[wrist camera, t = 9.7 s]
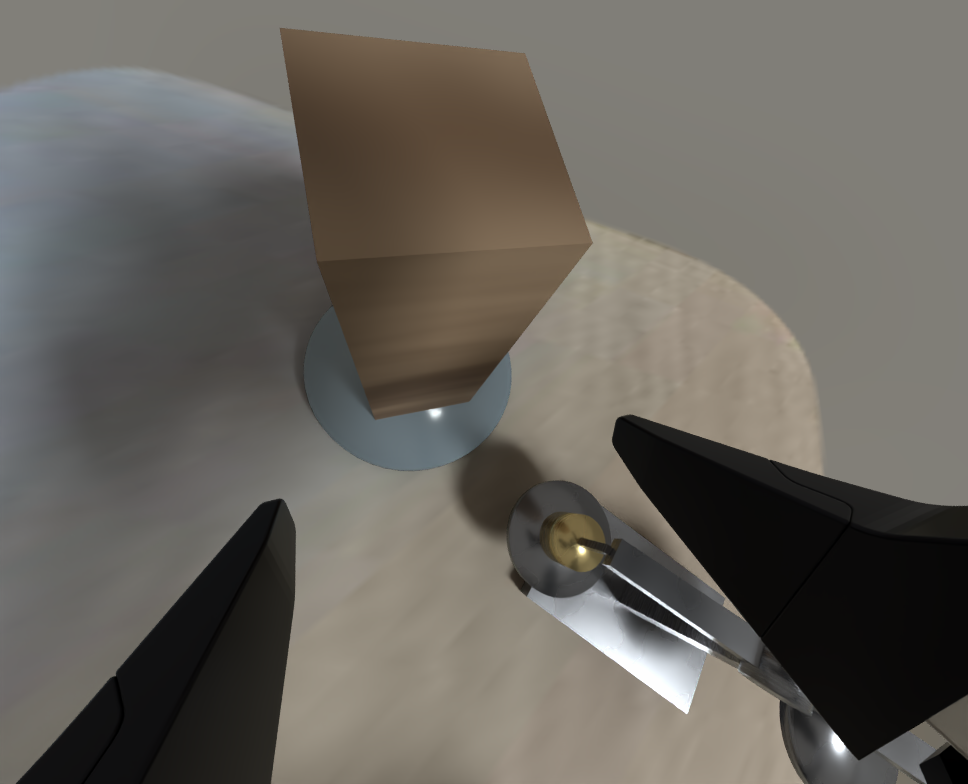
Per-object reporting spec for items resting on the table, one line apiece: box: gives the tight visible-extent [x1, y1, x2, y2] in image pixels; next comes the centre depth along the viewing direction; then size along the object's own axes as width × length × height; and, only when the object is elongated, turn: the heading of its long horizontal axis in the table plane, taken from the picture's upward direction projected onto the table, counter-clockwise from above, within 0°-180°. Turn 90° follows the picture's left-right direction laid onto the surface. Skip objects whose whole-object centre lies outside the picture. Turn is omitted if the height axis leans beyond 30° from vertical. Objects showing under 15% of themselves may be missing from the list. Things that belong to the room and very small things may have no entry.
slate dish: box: [304, 305, 511, 471], centre depth 19 cm, size 11×11×1 cm
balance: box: [507, 481, 936, 784], centre depth 14 cm, size 17×6×10 cm, turn 55°
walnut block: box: [280, 28, 593, 420], centre depth 13 cm, size 5×5×13 cm
